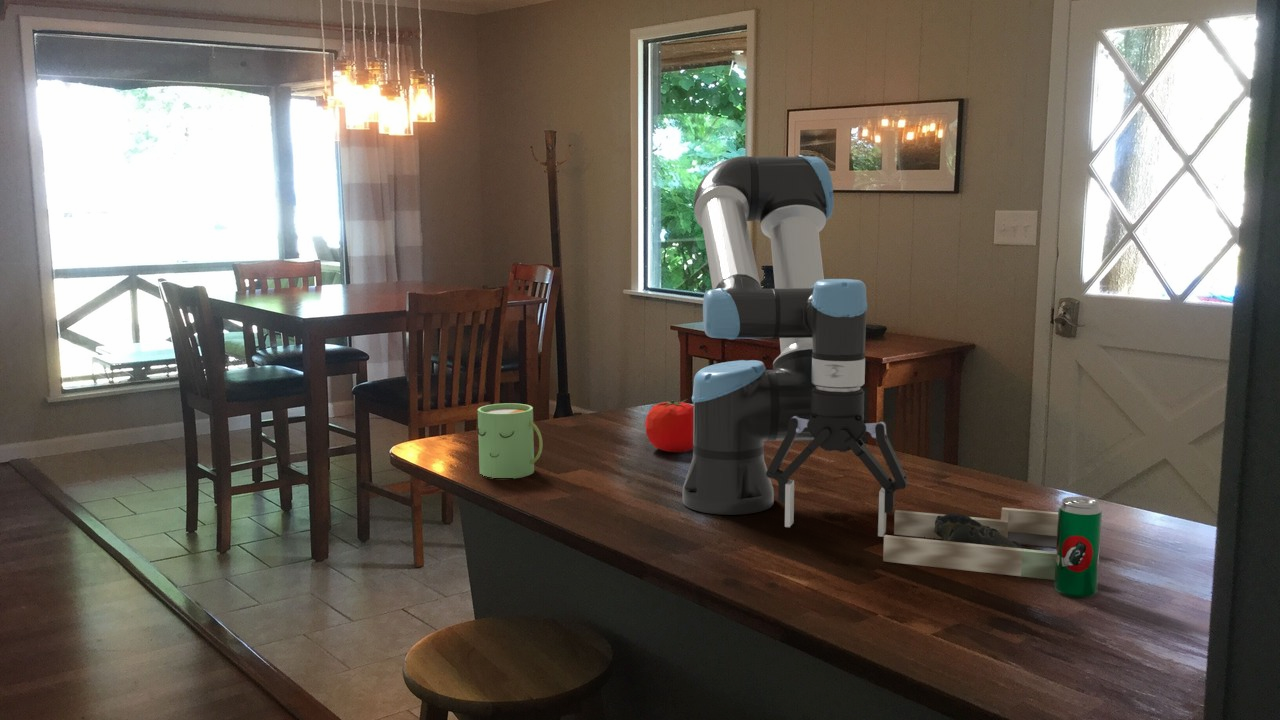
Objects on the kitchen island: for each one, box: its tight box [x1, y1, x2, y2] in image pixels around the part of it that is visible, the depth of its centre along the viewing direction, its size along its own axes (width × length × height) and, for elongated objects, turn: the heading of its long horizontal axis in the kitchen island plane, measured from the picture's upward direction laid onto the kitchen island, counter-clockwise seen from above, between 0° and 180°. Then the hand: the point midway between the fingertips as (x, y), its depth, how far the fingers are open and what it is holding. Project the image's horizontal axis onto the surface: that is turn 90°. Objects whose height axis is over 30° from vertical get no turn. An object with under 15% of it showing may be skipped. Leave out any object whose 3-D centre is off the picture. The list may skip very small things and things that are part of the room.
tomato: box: [644, 398, 693, 453], centre depth 210 cm, size 12×12×10 cm
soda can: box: [1053, 496, 1103, 599], centre depth 133 cm, size 5×5×12 cm
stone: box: [934, 512, 1025, 549], centre depth 148 cm, size 7×13×5 cm, turn 53°
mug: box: [477, 402, 544, 479], centre depth 194 cm, size 13×10×12 cm
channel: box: [882, 507, 1058, 581], centre depth 150 cm, size 27×20×4 cm
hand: (834, 529), depth 154 cm, fingers open, 13 cm apart
